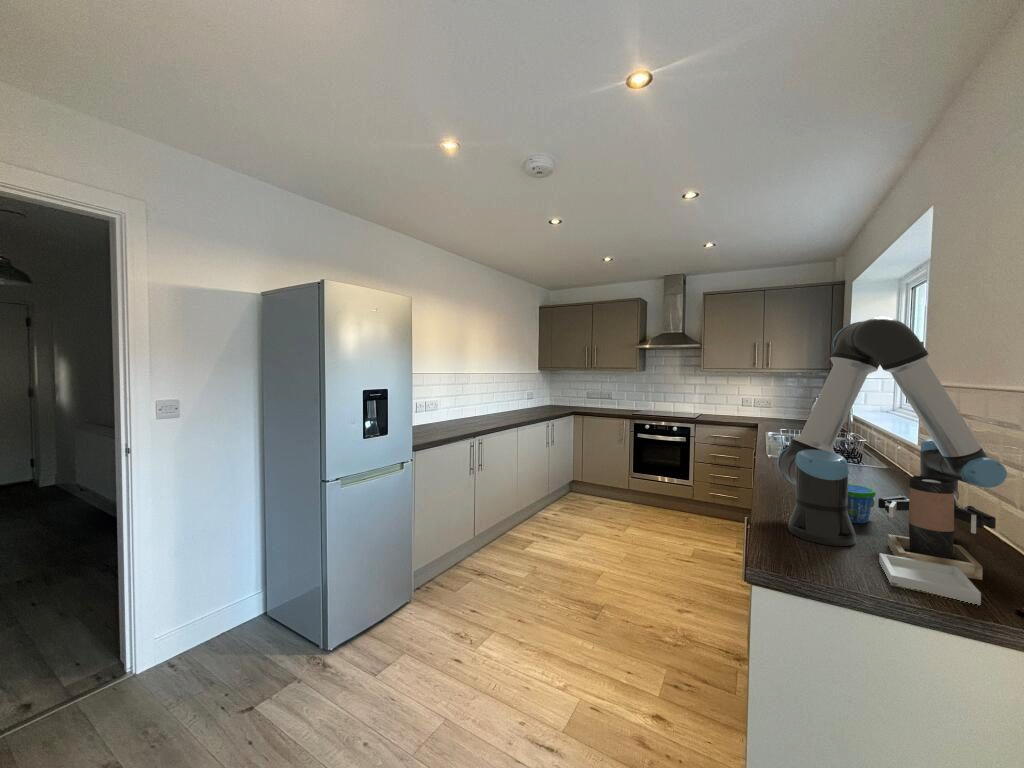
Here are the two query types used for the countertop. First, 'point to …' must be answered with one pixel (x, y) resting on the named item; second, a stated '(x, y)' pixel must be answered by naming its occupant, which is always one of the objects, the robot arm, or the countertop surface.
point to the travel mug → (931, 516)
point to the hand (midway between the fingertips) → (930, 519)
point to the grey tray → (929, 578)
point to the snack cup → (860, 503)
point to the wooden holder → (963, 557)
